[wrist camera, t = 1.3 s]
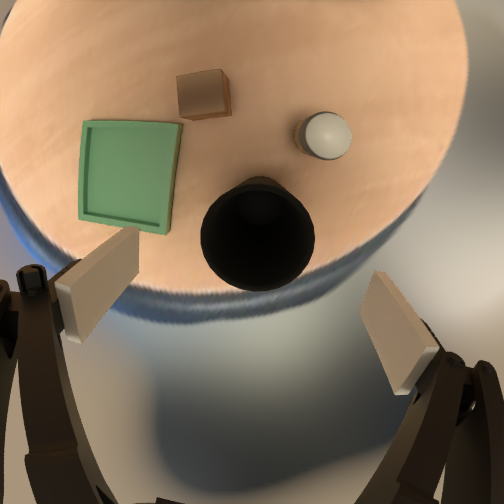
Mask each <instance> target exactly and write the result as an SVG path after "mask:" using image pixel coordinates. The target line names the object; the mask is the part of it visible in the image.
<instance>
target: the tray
mask: <svg viewBox="0 0 504 504" xmlns="http://www.w3.org/2000/svg"><path fill="white" fill-rule="evenodd" d="M182 126H183V125H182V124H173V123H160V122H143V121H83V126H82V135H81V145H80V159H79V180H78V220H84V221H89V222H95V223H100V224H106V225H111V226H117V227H123V228H125V227H126V226H133V227H139V228H140V229H139V231H145V232H150V233H156V234H161V235H166V234H167V233H168V232H169V231H170V226H171V215H172V204H173V194H174V185H175V176H176V168H177V160H178V153H179V146H180V139H181V133H182Z"/></svg>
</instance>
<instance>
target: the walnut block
mask: <svg viewBox="0 0 504 504" xmlns="http://www.w3.org/2000/svg"><path fill="white" fill-rule="evenodd" d="M176 77H177V91H178V103H179V114H180V118H184V119H189V120H193V121H194V120H200V119H207V118H215V117H223V116H231V104H230V93H229V82H228V79H227V77H226V75H225V74H224V72H223V71H222V69H215V70H208V71H202V72H196V73H191V74H185V75H180V76H176Z"/></svg>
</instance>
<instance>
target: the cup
mask: <svg viewBox="0 0 504 504" xmlns="http://www.w3.org/2000/svg"><path fill="white" fill-rule="evenodd" d="M314 243H315V234H314V226H313V223H312V221H311V218H310V215H309V213H308V212H307V210H306V209H305V208H304V206H303V205H302V203H301V202H300V201H299V200H298V199H296V198H295V197H294V196H293V195H292V194H290V193H289V192H288V191H287V190H286V189H285V188H283V187H282V186H281V185H280V184H278V183H277V182H276V181H275V180H273V179H271V178H268V177H263V176H259V177H253V178H250V179H248V180H246V181H245V182H243V183H241V184H239V185H238V186H236V187H235V188H233V189H231V190H230V191H228V192H226V193H225V194H223V195H221V196H220V197H219V198H218V199H217V200H216V201H215V202H214V203H213V204H212V205H211V206H210V208H209V210H208V212H207V213H206V215H205V217H204V219H203V223H202V227H201V247H202V251H203V255H204V257H205V259H206V261H207V263H208V265H209V267H210V268H211V269H212V270H213V271H214V272H215V274H216V275H217V276H218V277H219V278H221V279H222V280H224V281H225V282H227V283H228V284H230V285H232V286H234V287H237V288H239V289H242V290H248V291H254V292H255V291H269V290H273V289H277V288H280V287H282V286H284V285H286V284H288V283H290V282H292V281H293V280H294V279H295V278H296V277H298V276H299V275H300V274H301V273H302V271H303V270H304V269H305V267H306V266H307V265H308V263H309V261H310V258H311V256H312V254H313V250H314Z"/></svg>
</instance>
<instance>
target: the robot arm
mask: <svg viewBox="0 0 504 504" xmlns="http://www.w3.org/2000/svg"><path fill="white" fill-rule="evenodd" d="M139 229H140V228H139V227H133V226H126V227H125V228H123V229H122V230H120V231H119V232H118V233H116V234H115V235H114V236H112V237H111V238H110V239H108V240H107V241H105V242H104V243H103V244H101V245H100V246H99V247H98V248H96V249H95V250H94V251H92V252H91V253H90V254H88V255H87V256H86V257H85V258H83V259H78V260H76V261H73V262H71V263H70V264H68V265H67V266H66V267H65V269H64V268H63V269H62V270H61V271H60V273H59V272H58V273H57V274H56V275H55V276H53V277H52V278H51V279H50V280H49V281H47V275H46V270H45V267H43V266H42V265H38V264H31V265H27V266H24V267H22V268H21V269H20V270H18V271H17V274H16V277H17V281H18V286H19V290H20V292H12V291H10V288H9V285H8V282H7V281H5V280H0V504H3V496H4V445H5V431H6V421H7V413H8V406H9V399H10V393H11V388H12V382H13V377H14V373H15V368H16V364H17V360H18V372H19V387H20V396H21V406H22V413H23V419H24V426H25V431H26V436H27V441H28V446H29V454H27V455H25V466H26V471H27V474H28V478H29V481H30V485H31V488H32V491H33V494H34V497H35V500H36V503H37V504H118V502H117V500H116V499H115V497H114V495H113V493H112V492H111V490H110V488H109V487H108V485H107V484H106V482H105V480H104V478H103V476H102V473H101V471H100V469H99V467H98V464H97V462H96V460H95V457H94V455H93V452H92V450H91V447H90V445H89V442H88V439H87V437H86V434H85V431H84V428H83V425H82V422H81V419H80V416H79V413H78V410H77V406H76V403H75V399H74V396H73V392H72V388H71V384H70V380H69V376H68V372H67V367H66V363H65V358H64V353H63V347H62V341H61V338H60V333H61V331H62V330H63V329H65V332H66V336H67V339H68V340H71V341H73V342H76V343H78V344H81V345H82V343H83V342H84V341H85V339H86V338H87V337H88V335H89V334H90V333H91V331H92V330H93V329H94V327H95V326H96V325H97V324H98V322H99V321H100V320H101V318H102V317H103V316H104V315H105V313H106V312H107V311H108V310H109V308H110V307H111V306H112V304H113V303H114V302H115V301H116V300H117V298H118V297H119V296H120V295H121V293H122V292H123V291H124V290H125V288H126V287H127V286H128V285H129V284H130V282H131V281H132V280H133V279H134V278H135V277H136V275H137V274H138V273H139ZM359 313H360V315H361V317H362V320H363V322H364V324H365V326H366V328H367V330H368V333H369V335H370V337H371V339H372V342H373V344H374V346H375V348H376V351H377V353H378V355H379V358H380V360H381V362H382V365H383V367H384V369H385V372H386V374H387V377H388V379H389V382H390V384H391V387H392V389H393V392H394V394H395V395H401V394H402V395H403V394H409V392H410V391H411V390H412V388H413V387H414V385H416V387H417V389H418V391H417V393H416V394H415V395H414V397H413V398H412V399H411V401H410V402H409V403H408V404H407V406H406V408H408V407H409V408H408V411H407V413H406V415H405V417H404V420H403V422H402V424H401V426H400V428H399V430H398V432H397V434H396V436H395V438H394V440H393V442H392V444H391V445H390V448H389V449H388V451H387V453H386V454H385V456H384V458H383V460H382V461H381V463H380V465H379V467H378V468H377V470H376V472H375V473H374V475H373V476H372V478H371V480H370V481H369V483H368V484H367V486H366V487H365V489H364V490H363V492H362V493H361V495H360V496H359V498H358V499H357V500H356V502H355V503H354V504H439V501H438V500H435V499H434V498H433V496H434V493H435V490H436V488H437V485H438V483H439V480H440V477H441V474H442V472H443V469H444V466H445V476H444V484H443V492H442V499H441V504H504V400H503V395H502V391H501V388H500V384H499V380H498V377H497V373H496V371H495V369H494V367H493V366H492V365H491V364H490V363H489V362H486V361H483V360H480V361H478V363H477V364H476V365H475V367H474V368H470V367H466V366H465V362H464V361H463V360H462V358H461V357H460V356H458V355H457V354H455V353H453V352H446V351H445V350H444V348H443V347H442V345H441V344H440V342H439V341H438V339H437V338H436V337H435V335H434V333H433V332H431V329H430V328H429V326H428V325H427V324H426V323H425V322H424V321H423V320H422V319H421V318H419V316H418V315H417V314H416V312H415V311H414V309H413V308H412V307H411V305H410V304H409V302H408V301H407V300H406V298H405V297H404V296H403V294H402V293H401V292H400V290H399V289H398V288H397V287H396V285H395V284H394V283H393V281H392V280H391V279H390V277H389V276H388V275H387V274H386V273H385V272H380V271H374V273H373V276H372V279H371V281H370V284H369V287H368V289H367V292H366V294H365V297H364V299H363V302H362V304H361V307H360V309H359ZM474 404H475V407H474V409H473V410H472V407H473V405H474ZM445 463H446V464H445ZM136 504H183V503H179V502H174V501H170V500H166V499H162V498H158V497H157V499H156V503H136Z"/></svg>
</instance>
